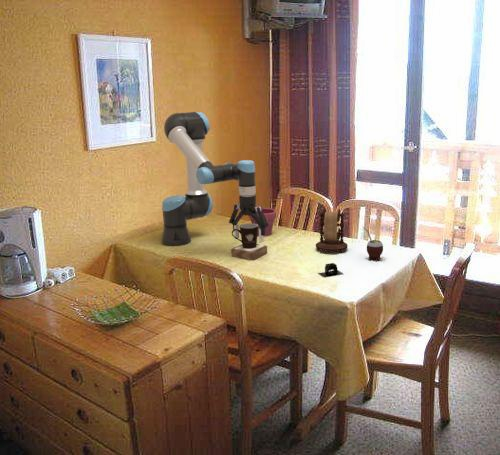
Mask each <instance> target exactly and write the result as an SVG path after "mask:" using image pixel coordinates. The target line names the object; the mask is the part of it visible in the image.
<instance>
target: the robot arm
mask: <svg viewBox="0 0 500 455" xmlns="http://www.w3.org/2000/svg"><path fill="white" fill-rule="evenodd" d="M163 131H164V134H165V136H166V139H167V140H169V142H170V143H172V144H174V145H175V146H176V147H177V149H178V150H179V151H180V152H181V153H182V155H183V156H184V157H185V160H186V161H185V162H186V179H187V190H186V191H185V194H184V195H185V196H184V195H181V194H180V195H178V194H177V195H171V196H168V197H165V198H164V199H163V200H162V205H161V210H162V219H163V220H162V221H163V231H162V235H161V244H162V243H163V244H162V245H164V244H165V245H164V246H169V247H170V246H171V247H174V246H175V247H176V246H183V245H187V244H190V243H191V242H192V237H191V234H190V231H189V229H188V226H187V224H188V223H187V221H188V220H189V221H190V220H194V219H198V218H203V217H207V216H209V215H210V214H211V212H212V210H213V206H214V203H213V199H212V196H211V195H210V194H209V193H208V190H206V189H205V185H210V184H217V183H221V182H223V183H224V182H228V181H238V195H239V196H238V197H239V198H238V200H239V203H236V204H234V205H233V211H232V213H231V216H230V217H229V220H228V223H229V224H231V225H232V231H233V230H234V229H238V230H240V224H239V222H240V220H241V219H242V217H244V216H248V217H249V216H251V217H253V218H254V220H255V221H256V223H257V224H258V226H259V227H260V229H259V236H258V243H259V244H262V243H264V242H265V240H264V238H265V236H264V235H265V228H266V227H268V226H269V225H268V223H267V220H266V218H265V216H264V214H263V211H262V208H263V207H262V206H257V204H256V203H257V197H256V193H257V192H256V189H257V188H256V165H255V161H253V160H250V159H246V160H245V159H243V160H239V161H238V162H237V163H235V162H234V163H233V162H225V163H224V164H220V165H219V164H218V165H214V164H213V163H212V162H211V161H210V160H209V158H208V157H207V156H206V154H204V152H203V150H204V149H203V142H204V141H205V140H206V135H208V134H209V131H210V121H209V119H208V117H207V116H206V115H205V114H204V112H200V111H189V112H187V111H186V112H176V113H171V115H169V116H168V117H166V120H165V121H164V124H163ZM239 210H240V211H239ZM256 211H257V212H256ZM257 213H258V215H259V216H258V215H257ZM233 235H234V236H235V237H236V238H238V239H240V233H239V231H237V230H235V231H234V232H233ZM236 238H234V240H237V239H236Z"/></svg>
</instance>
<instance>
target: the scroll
mask: <svg viewBox="0 0 500 455" xmlns="http://www.w3.org/2000/svg"><path fill="white" fill-rule="evenodd" d="M319 215H320V216H319V218H320V219H319V221H320V222H319V227H320V229H319V235H320V236H319V237H320V238H319V241H317V243H316V244H315V248H316V249H317V250H318V253H321V251H323V252H331V253H332V252H334V253H335V252H338V254H341V253H342V252H343V251H345V250H347V249H348V243H346V242H345V241H344V236H345V233H344V227H345V222H344V221H345V220H344V217H345V214H344V213H343V212H341V210H340V208H338V209H337V211H327V209H326V208H323V211H320V212H319ZM339 221H340V222H339ZM338 227H339V228H338Z"/></svg>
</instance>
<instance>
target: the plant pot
mask: <svg viewBox="0 0 500 455" xmlns="http://www.w3.org/2000/svg"><path fill="white" fill-rule="evenodd" d="M262 211H263V214H264V216H265V218H266V220H267V223H268V225H269V226H268V227H266V228H265V235H264V237H267V236H271V235H272V231H273V228H274V222H275V219H276V217H277V211H276V209H273V208H268V207H262ZM256 212H257V211H256ZM257 215H258V213H257ZM258 216H259V215H258ZM248 219H250V222H251V224H257V223H256V221H255V220H254V218H253V217H251V216H248ZM257 225H258V224H257ZM259 229H260V227H259V226H258V234H257V237H259Z"/></svg>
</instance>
